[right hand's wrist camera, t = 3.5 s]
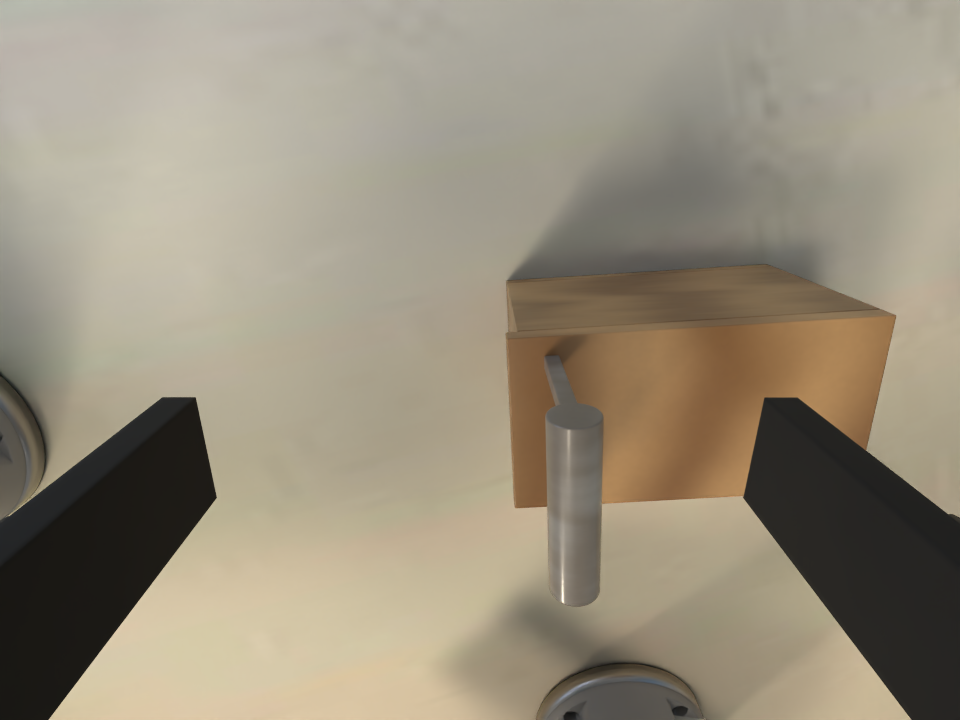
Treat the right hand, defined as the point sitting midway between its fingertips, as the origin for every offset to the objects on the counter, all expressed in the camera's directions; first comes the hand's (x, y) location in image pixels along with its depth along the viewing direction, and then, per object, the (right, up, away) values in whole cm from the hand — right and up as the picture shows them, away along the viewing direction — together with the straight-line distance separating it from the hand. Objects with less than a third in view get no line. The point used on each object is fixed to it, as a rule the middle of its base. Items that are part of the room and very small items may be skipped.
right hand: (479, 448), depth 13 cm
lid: (+10, 0, +14) cm, 18 cm away
